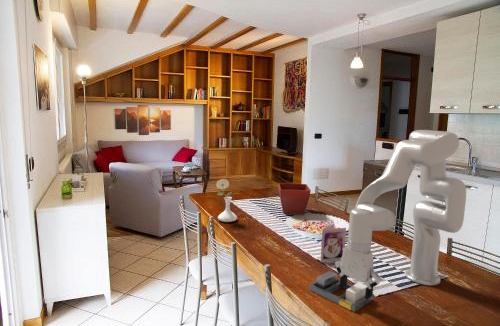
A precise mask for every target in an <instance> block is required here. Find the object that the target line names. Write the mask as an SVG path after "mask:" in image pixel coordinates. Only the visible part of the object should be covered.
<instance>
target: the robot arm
mask: <svg viewBox="0 0 500 326" xmlns="http://www.w3.org/2000/svg"><path fill="white" fill-rule="evenodd" d="M459 146H460V139H459V136H458V135H457V134H456V133H454V132H452V131H451V132H450V131H445V130H444V131H443V130H431V129H416V130H414V131H411V133H409V137H408V139H403V140H401V141H399V142H397V143H396V145H395V146H394V149H393V151H392V153H391V155H390V158H389V160H388V163H387V164H386V166H385V168H384V171H383V172H382V174H381V176H379V178H377V179H375V180H374V181H372V182H371V183H370V184H368V186H366V187H365V188H364V189H363V190H362V191H361V192H360V195H359V197H358V199H357V200H356V201H357V202H356V203H355V206H354V208H352V209H351V210H350V212H349V221H348V223H349V224H348V235H347V237H345V243H346V244H347V245H345V249H344V252H343V257H342V260H338V261H334V264H335V267H336V270H337V271H338V272H339V273H338V275H339V277H340V279H339V280H340V289H344V288H343V287H345V286H347V283H348V277H349V278H351V279H353V280H356V281H359V282H360V283H364V284H365V285H366V286H367V288H366V292H365V299H369V298H370V297H372V295H373V296H374V293H373V292H374V288H375V287H376V286H378V285H379V284H380V283H381V281H382V280H383V279H382V277H381V276H380V275H379V274H378V273H377V272H376V271H375V269H374V255H373V251H372V250H371V248H372V247H371V246H372V240H373V239H372V238H373V237H372V236H373V232H374V231H381V232H382V231H383V232H384V231H389V230H390V229H392V228H393V227H394V225H395V223H396V216H395V214H394V213H393V212H392V211H391V210H389V209H387V208H384V207H382V206H381V207H380V206H379V205H375V204H374V202H375V201H376V199H377V198H379V196H380V195H382V194H385V193H387V192H390V191H391V192H392V191H395V190H400V189H402V188H405V187H406V185H407V184H408V182H409V179H410V177H411V175H412V173H413V171H414V169H415V166H419V167H420V177H419V193H420V195H421V196H422V197H424V198H427V199H430V200H419V201H418V202H417V203H416V204H415V205H414V207H413V210H412V217H413V240H412V248H411V256H410V257H411V258H410V268H408V269H406V271H405V277H406V278H407V279H408V280H410V281H411V282H414V283H417V284H419V285H424V286H437V285H439V284H441V278H440V276H439V275H438V274H437V271H438V264H439V256H440V247H441V234H440V231H442V232H446V233H451V234H455V233H458V232H460V230H461V229H462V228H463V225H464V221H465V211H466V201H467V187H466V184H465V182H464V181H462V180H461V179H460V178H457V177H450V176H447V160H446V159H448V158H450V157H452V156H454V154H455V153H456V152H457V151H458V149H459ZM431 200H435V201H438V202H435V201H431ZM439 202H442V203H439ZM443 203H445V204H443ZM439 230H440V231H439ZM373 279H374V280H373Z"/></svg>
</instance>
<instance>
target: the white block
mask: <svg viewBox="0 0 500 326" xmlns="http://www.w3.org/2000/svg"><path fill="white" fill-rule="evenodd" d="M366 288H367V285H366V284H365V283H364V284H363V283H362V282H357V283H356V284H353V286H352V287H350V288H348V289H347V290H346V289H345V293H346V300H347V301H349V302H351V303H353V304H355V303H357V302H358V301H360V300H361V299H363V298H364V297H365V292H366Z"/></svg>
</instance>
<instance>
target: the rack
mask: <svg viewBox="0 0 500 326" xmlns="http://www.w3.org/2000/svg"><path fill="white" fill-rule="evenodd" d="M353 285H354V284H353ZM353 285H352V284H350V283H348V282H347V286H345V287H343V288H342V289H344V290H345V291H346V290H347V289H348V288H350V287H352V286H353ZM340 289H341V288H340V279H339V278H338V273H337V272H336V273H335V272H333V271H332V270H328V271H326V272H323V273H322V274H320V275H317V276H316V280H314V281H313V282H311V283H309V284H308V290H309V291H311V292H313V293H315V294H317V295H319V296H320V297H323V298H325V299H327V300H329V301H331V302H333V303H335V304H337V305H339V306H341V307H343V308H345V309H347V310H349V311H351V312H352V313H356V312H357V311H358V310H360V309H361V308H363V307H365V306H366V305H368V304H369V303H371V302H372V301H373V300H374V294H373V295H372V297H370V298H369V299H365V297H364V298H363V299H361V300H360V301H358V302H357V303H355V304H353V303H351V302H349V301H347V300H346V292H344V293H343V294H341V295H339V296H337V295H335V294H333V293H335V292H336V291H338V290H340Z"/></svg>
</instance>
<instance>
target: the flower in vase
mask: <svg viewBox="0 0 500 326" xmlns="http://www.w3.org/2000/svg"><path fill="white" fill-rule="evenodd" d="M215 186H216V188H217V189H220V190H222V192H221V191H219V192H217V194H216V195H217V196H220V197H221V196H223V199H224V201H225V209H224V211H223V212H221V213H219V215H218V216H217V219H218V220H219V221H221V222H225V223H230V222H235V221H236V220H237V219H238V216H237V215H236V214H235V213H234V212H233V211H231V206H230V205H231V201H232V199H233V197H232V196H231V195H232V193H233V191H231V192H228V193H227V194H226V193H225V191H224V190H225V189H228V187H229V186H230V182H229V180H228V179H226V178H220V179H219V180H217V182H216V183H215ZM224 196H225V197H224Z"/></svg>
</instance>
